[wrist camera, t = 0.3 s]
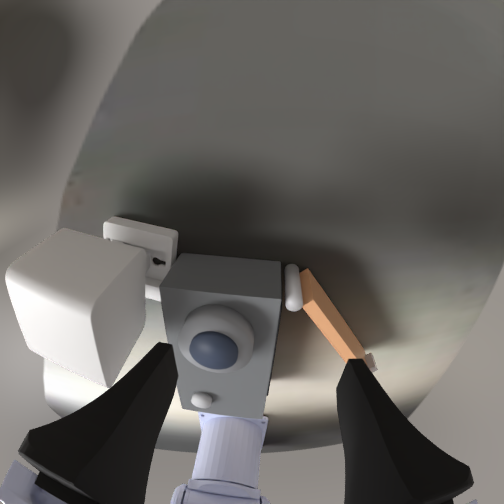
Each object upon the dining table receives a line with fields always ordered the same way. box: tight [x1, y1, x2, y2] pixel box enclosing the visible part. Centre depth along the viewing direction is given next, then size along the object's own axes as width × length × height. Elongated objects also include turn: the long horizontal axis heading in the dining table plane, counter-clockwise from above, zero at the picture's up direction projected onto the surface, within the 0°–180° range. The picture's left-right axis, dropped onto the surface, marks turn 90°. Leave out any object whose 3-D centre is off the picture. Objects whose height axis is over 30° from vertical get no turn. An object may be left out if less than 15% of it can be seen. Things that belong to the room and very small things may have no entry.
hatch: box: [284, 264, 377, 372], centre depth 19 cm, size 11×2×4 cm, turn 37°
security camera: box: [5, 216, 178, 388], centre depth 16 cm, size 6×7×10 cm
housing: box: [159, 253, 282, 419], centre depth 19 cm, size 13×7×6 cm, turn 177°
